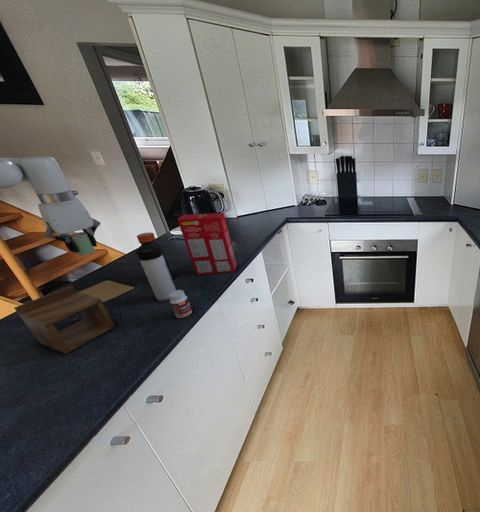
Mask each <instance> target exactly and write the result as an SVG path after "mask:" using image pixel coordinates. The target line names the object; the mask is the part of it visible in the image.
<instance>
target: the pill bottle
mask: <svg viewBox="0 0 480 512" xmlns="http://www.w3.org/2000/svg"><path fill="white" fill-rule="evenodd" d="M169 297H170V300H169V303H170V306H171V309H172V311H173V313H174V316H175V317H176V318H179V319H183V318H186V317H188V316H190V315H191V314H192V312H193V309H192V306H191V303H190V301H189V298H188V296H187V295H186V294H185V291H184V290H183V289H176V291H173V292H171V293H170V294H169Z"/></svg>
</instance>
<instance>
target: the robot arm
mask: <svg viewBox="0 0 480 512" xmlns="http://www.w3.org/2000/svg"><path fill="white" fill-rule="evenodd" d="M23 182H28V183H30V186H31V187H32V189H33V191H34V192H35V194H36V196H37V198H38V200H39V202H40V203H38V204H37V206H38V211H39V213H40V217H41V218H42V221H43V224H44V225H45V227H46V230H45V232H44V234H43V237H44V238H45V239H50V240H56V241H60V242H63V244H64V245H65V246H66V249H67V250H68V251H69V252H72V253H76V254H77V252H79V250H78V249H77V247H76V245H75V243H74V242H73V241H71V240H70V234H72V233H75V232H79V231H81V232H86V233H87V236H88V238H89V240H90V242H91V244H92V245H93V247H94V248H96V247H98V244H97V240H96V237H95V234H96V233H95V232H96V230H97V229H98V228H99V227H100V226H101V222H100V221H99V220H96V219H94V218H93V217H92V216H91V214H90V213H89V211H88V210H87V208H86V207H85V205H84V204H83V202H81V200H80V199H79V198H77V197H76V196H78V195H79V194H80V193H79V191H78V190H72V189H71V187H70V185H69V183H68V180H67V178H66V177H65V174H64V173H63V171H62V169H61V166H60V165H59V163H58V161H57V160H56V159H55V158H54V157H52V156H43V155H42V156H39V155H38V156H26V157H3V156H2V157H1V156H0V189H10V188H11V189H12V188H14V187H16V186H18V185H19V184H21V183H23ZM55 234H57V235H55Z"/></svg>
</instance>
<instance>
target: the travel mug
mask: <svg viewBox="0 0 480 512" xmlns="http://www.w3.org/2000/svg"><path fill="white" fill-rule="evenodd" d="M135 254H136V255H137V257H138V259H139V261H140V264H141V266H142V269H143V272H144V273H145V277H146V278H147V280H148V283H149V286H150V287H151V290H152V292H153V294H154V297H155V299H156V301H157V302H167V301H170V297H169V294H170V293H171V292H173V291H177V289H176V286H175V283H174V281H173V279H172V278H171V275H170V273H169V270H168V268H167V265H166V262H165V260H164V257H163V255H162V253H161V250H160V248H159V247H158V248H157V247H146V248H141V249H139V248H138V249H136V250H135Z"/></svg>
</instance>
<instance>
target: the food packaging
mask: <svg viewBox="0 0 480 512" xmlns="http://www.w3.org/2000/svg"><path fill="white" fill-rule="evenodd" d="M177 222H178V225H179V228H180V232H181V234H182V237H183V240H184V243H185V247H186V248H187V252H188V256H189V257H190V260H191V263H192V266H193V269H194V273H195V275H196V276H201V275H211V274H212V275H213V274H223V273H234V272H235V271H236V270H237V268H238V263H237V260H236V256H235V252H234V247H233V244H232V240H231V235H230V231H229V228H228V224H227V220H226V216H225V213H224V212H215V213H214V212H212V213H197V214H182V215H181V216H180V217H178V218H177Z"/></svg>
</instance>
